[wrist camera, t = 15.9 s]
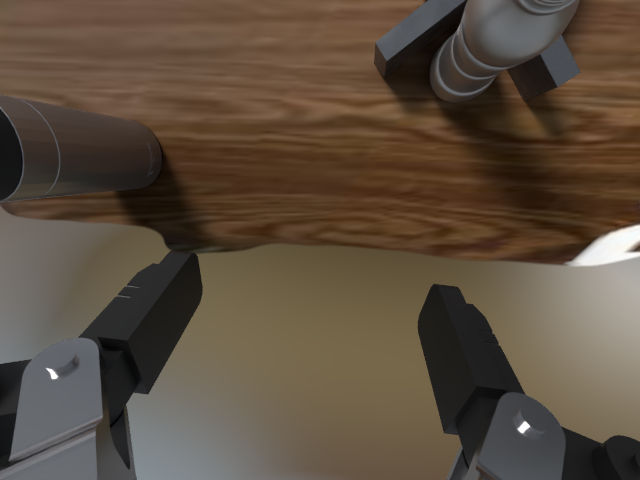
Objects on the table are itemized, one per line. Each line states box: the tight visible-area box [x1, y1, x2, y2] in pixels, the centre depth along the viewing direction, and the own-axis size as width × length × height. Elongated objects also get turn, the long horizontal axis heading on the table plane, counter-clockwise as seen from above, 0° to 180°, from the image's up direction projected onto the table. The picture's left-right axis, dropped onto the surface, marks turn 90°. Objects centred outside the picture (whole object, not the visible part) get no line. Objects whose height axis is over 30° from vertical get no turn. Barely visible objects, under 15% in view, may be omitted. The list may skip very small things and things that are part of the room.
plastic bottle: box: [430, 0, 580, 102], centre depth 23 cm, size 6×7×20 cm
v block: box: [374, 0, 581, 101], centre depth 29 cm, size 18×14×6 cm
